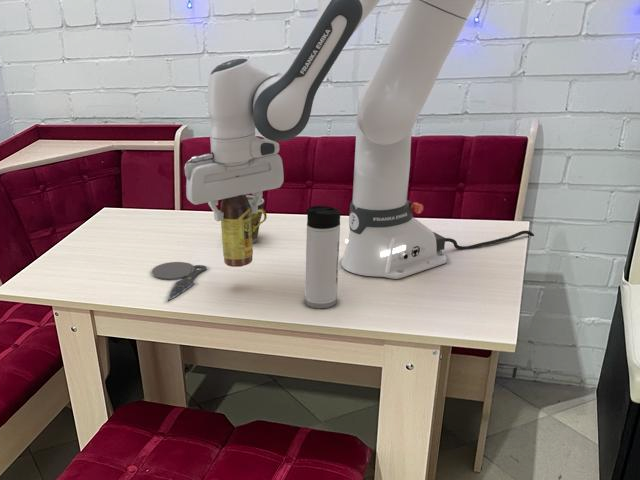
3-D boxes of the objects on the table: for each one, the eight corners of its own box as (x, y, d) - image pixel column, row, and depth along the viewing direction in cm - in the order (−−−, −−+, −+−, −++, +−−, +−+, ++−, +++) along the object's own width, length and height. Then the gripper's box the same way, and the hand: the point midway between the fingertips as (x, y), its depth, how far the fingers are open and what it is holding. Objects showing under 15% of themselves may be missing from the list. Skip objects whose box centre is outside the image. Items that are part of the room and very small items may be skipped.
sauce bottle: (252, 267, 156) (247, 173, 146) (222, 269, 158) (215, 175, 148) (254, 256, 162) (249, 164, 152) (225, 257, 163) (219, 166, 153)
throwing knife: (210, 268, 174) (210, 266, 174) (177, 303, 159) (177, 300, 159) (192, 266, 176) (192, 264, 176) (158, 301, 161) (158, 298, 161)
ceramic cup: (216, 241, 189) (214, 202, 184) (246, 230, 193) (245, 192, 188) (250, 253, 179) (249, 213, 174) (281, 242, 184) (281, 202, 179)
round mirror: (186, 260, 180) (186, 259, 179) (201, 274, 171) (200, 273, 171) (146, 268, 178) (146, 266, 177) (159, 283, 169) (159, 281, 169)
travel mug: (297, 300, 154) (299, 206, 144) (325, 293, 156) (328, 199, 146) (314, 311, 149) (317, 214, 139) (342, 304, 151) (347, 207, 141)
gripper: (189, 161, 143) (194, 230, 150) (286, 142, 147) (287, 210, 154) (178, 155, 148) (184, 222, 155) (272, 137, 152) (274, 203, 159)
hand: (236, 216), depth 155 cm, fingers closed on sauce bottle, 6 cm apart
